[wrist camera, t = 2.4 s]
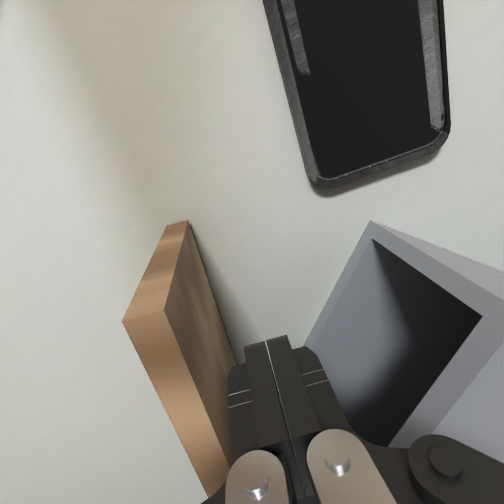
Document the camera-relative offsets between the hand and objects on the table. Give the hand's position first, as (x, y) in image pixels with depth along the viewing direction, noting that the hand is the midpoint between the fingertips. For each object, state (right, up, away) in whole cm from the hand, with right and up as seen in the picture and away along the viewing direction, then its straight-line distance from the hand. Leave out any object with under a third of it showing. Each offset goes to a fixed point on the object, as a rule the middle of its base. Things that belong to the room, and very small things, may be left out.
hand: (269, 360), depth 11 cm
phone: (+4, +15, +4) cm, 16 cm away
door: (-3, -2, +9) cm, 10 cm away
